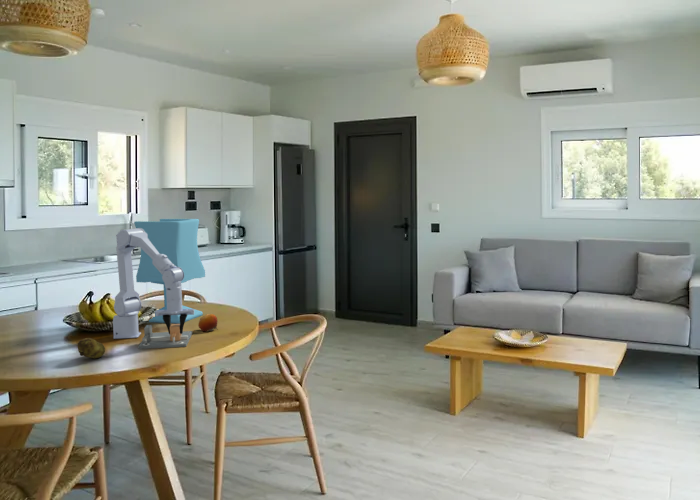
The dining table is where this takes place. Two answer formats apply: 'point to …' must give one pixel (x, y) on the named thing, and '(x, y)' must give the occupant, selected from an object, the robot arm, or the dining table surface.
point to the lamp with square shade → (171, 255)
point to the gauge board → (165, 340)
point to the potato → (91, 348)
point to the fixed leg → (148, 333)
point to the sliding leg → (175, 332)
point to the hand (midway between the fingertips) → (175, 333)
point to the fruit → (208, 322)
